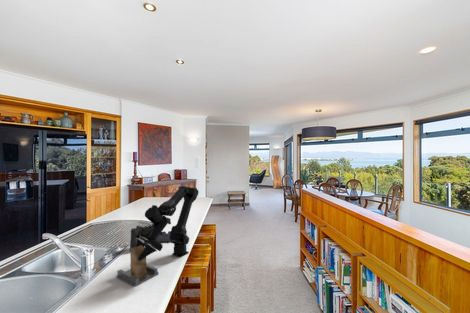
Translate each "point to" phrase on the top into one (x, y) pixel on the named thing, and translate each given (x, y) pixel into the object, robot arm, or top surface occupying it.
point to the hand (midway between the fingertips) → (135, 257)
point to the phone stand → (132, 239)
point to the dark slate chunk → (163, 238)
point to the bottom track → (135, 280)
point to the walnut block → (138, 262)
